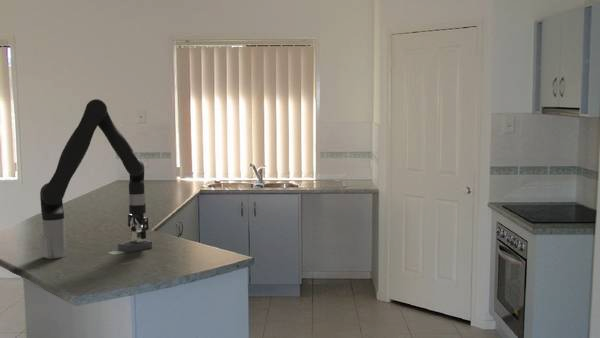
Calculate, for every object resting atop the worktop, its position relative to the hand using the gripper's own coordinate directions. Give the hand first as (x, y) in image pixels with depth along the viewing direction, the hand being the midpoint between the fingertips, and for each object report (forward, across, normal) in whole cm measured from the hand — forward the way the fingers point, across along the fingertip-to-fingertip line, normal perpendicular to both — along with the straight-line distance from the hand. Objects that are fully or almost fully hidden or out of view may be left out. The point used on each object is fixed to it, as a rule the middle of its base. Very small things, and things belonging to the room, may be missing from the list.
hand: (138, 237), depth 304 cm
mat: (+5, 0, -12) cm, 13 cm away
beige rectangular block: (+5, 0, 0) cm, 5 cm away
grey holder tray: (+5, 0, -2) cm, 6 cm away
